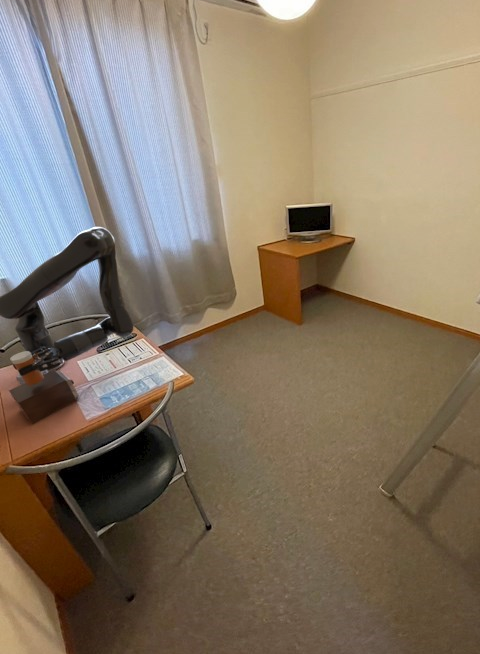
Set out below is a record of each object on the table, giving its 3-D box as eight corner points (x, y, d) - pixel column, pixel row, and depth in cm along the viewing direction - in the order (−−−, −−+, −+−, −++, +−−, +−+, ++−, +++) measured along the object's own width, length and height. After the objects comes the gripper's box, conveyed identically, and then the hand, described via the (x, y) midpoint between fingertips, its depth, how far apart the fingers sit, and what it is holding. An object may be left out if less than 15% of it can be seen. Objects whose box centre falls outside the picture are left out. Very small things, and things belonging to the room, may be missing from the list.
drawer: (71, 384, 123) (63, 368, 119) (82, 394, 117) (73, 377, 114) (29, 405, 114) (18, 389, 110) (38, 416, 108) (27, 400, 105)
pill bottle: (23, 382, 109) (8, 357, 104) (41, 374, 112) (27, 349, 107) (28, 387, 106) (12, 362, 101) (46, 379, 109) (32, 354, 104)
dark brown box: (65, 389, 122) (54, 369, 117) (76, 400, 116) (65, 379, 111) (22, 410, 113) (8, 390, 108) (32, 424, 107) (18, 402, 102)
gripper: (61, 331, 117) (4, 353, 106) (78, 342, 109) (17, 367, 98) (70, 348, 121) (15, 372, 110) (87, 360, 113) (29, 387, 102)
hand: (17, 370), depth 104 cm, fingers closed on pill bottle, 5 cm apart
